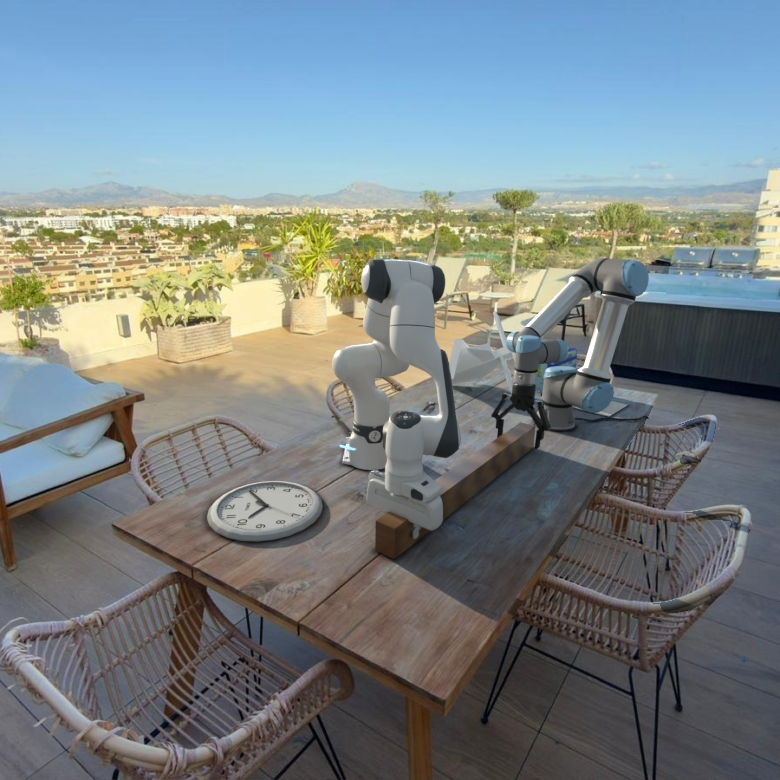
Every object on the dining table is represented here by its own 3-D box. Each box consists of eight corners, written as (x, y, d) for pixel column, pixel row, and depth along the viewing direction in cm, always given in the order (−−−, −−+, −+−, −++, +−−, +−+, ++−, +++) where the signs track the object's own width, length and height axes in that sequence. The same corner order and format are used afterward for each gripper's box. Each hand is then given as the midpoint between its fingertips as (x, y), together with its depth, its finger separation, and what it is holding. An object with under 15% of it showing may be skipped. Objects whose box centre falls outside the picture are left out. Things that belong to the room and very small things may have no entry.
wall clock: (320, 533, 126) (192, 537, 124) (320, 539, 127) (193, 543, 124) (324, 476, 155) (220, 479, 152) (324, 481, 155) (221, 484, 153)
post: (518, 443, 186) (520, 422, 184) (533, 447, 183) (535, 425, 181) (375, 550, 123) (375, 520, 121) (394, 559, 120) (394, 528, 118)
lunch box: (548, 399, 235) (554, 353, 228) (527, 393, 242) (532, 349, 236) (576, 387, 252) (581, 345, 246) (555, 383, 259) (560, 341, 253)
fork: (420, 411, 216) (420, 406, 216) (430, 400, 230) (431, 395, 230) (426, 412, 215) (426, 407, 215) (436, 401, 230) (436, 396, 229)
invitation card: (608, 416, 214) (573, 407, 224) (608, 416, 214) (573, 408, 224) (628, 404, 229) (594, 396, 238) (628, 405, 229) (594, 397, 238)
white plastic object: (461, 429, 252) (437, 405, 227) (444, 352, 274) (420, 323, 250) (535, 404, 240) (518, 377, 215) (510, 326, 262) (492, 293, 237)
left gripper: (360, 472, 125) (360, 523, 130) (433, 499, 114) (430, 553, 118) (377, 463, 130) (376, 512, 134) (447, 488, 119) (444, 540, 123)
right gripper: (484, 378, 176) (479, 436, 182) (557, 393, 162) (549, 456, 168) (494, 374, 182) (489, 430, 188) (565, 388, 168) (557, 449, 174)
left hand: (402, 532), depth 126 cm, fingers closed on post, 5 cm apart
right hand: (517, 442), depth 178 cm, fingers open, 13 cm apart
